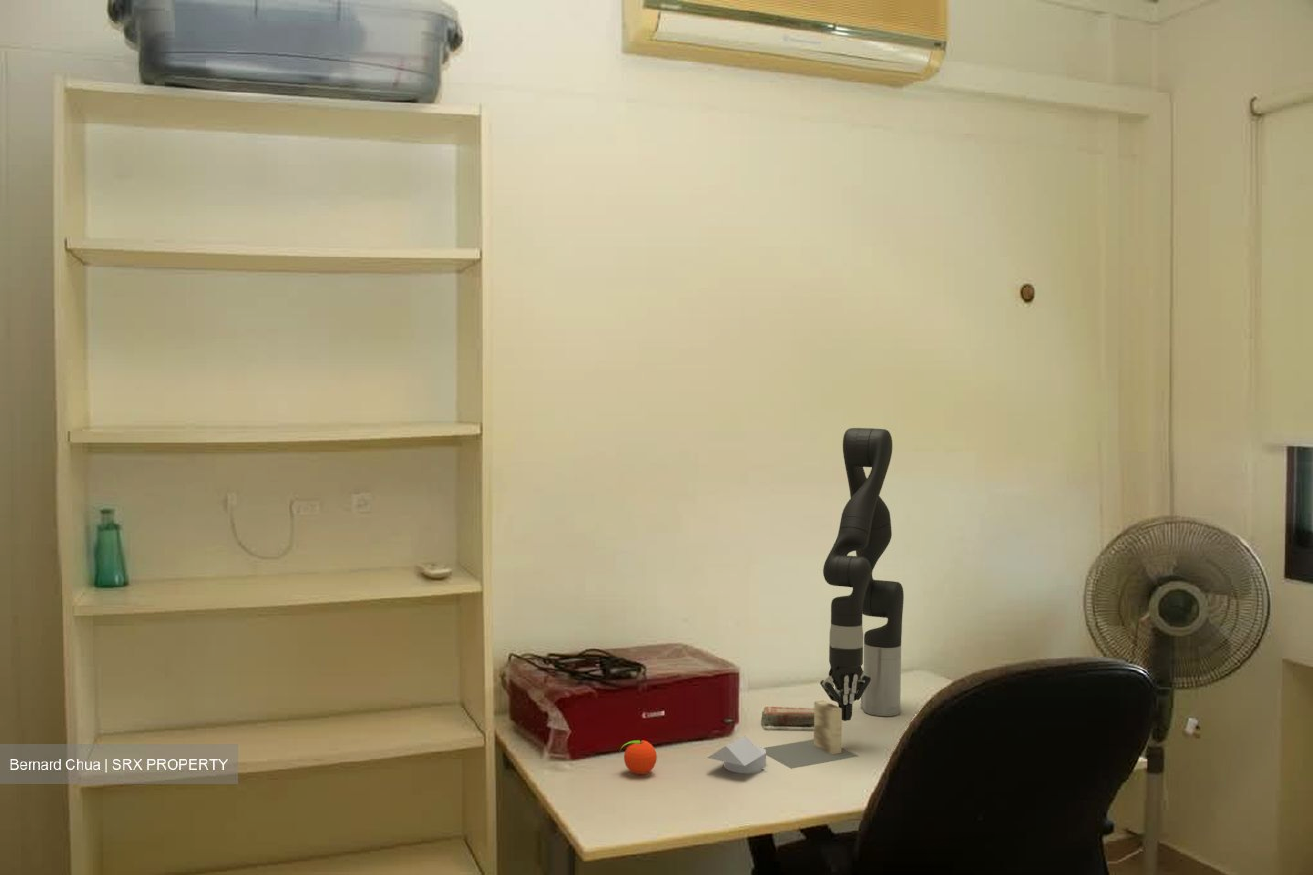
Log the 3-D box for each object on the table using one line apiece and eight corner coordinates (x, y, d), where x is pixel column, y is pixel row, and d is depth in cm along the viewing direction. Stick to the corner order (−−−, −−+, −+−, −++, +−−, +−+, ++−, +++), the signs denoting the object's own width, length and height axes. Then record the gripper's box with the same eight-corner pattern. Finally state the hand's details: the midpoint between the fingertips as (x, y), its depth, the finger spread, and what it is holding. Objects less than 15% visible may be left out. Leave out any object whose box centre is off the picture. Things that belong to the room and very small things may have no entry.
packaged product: (763, 714, 260) (761, 702, 270) (762, 734, 260) (761, 721, 270) (839, 715, 259) (835, 703, 269) (839, 736, 259) (834, 723, 269)
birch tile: (813, 745, 249) (814, 701, 249) (823, 743, 250) (823, 700, 250) (832, 754, 243) (832, 709, 242) (841, 752, 244) (842, 708, 244)
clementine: (618, 778, 228) (618, 745, 228) (619, 767, 235) (619, 734, 235) (656, 779, 228) (656, 745, 228) (656, 767, 235) (657, 735, 235)
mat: (755, 751, 246) (755, 749, 246) (821, 740, 254) (821, 737, 254) (791, 770, 234) (791, 768, 234) (859, 758, 242) (859, 755, 242)
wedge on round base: (744, 781, 227) (773, 764, 238) (744, 749, 227) (773, 733, 238) (706, 773, 232) (736, 756, 243) (707, 741, 232) (736, 726, 243)
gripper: (859, 637, 254) (858, 711, 255) (812, 643, 248) (811, 719, 248) (880, 644, 247) (878, 720, 248) (832, 650, 241) (831, 728, 242)
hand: (845, 719), depth 248 cm, fingers closed
